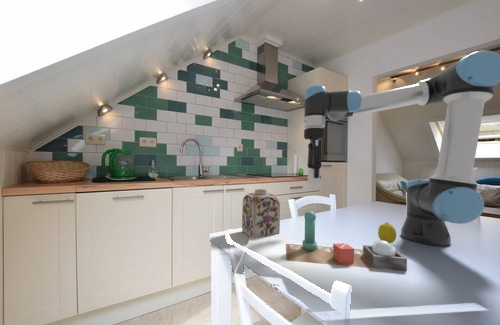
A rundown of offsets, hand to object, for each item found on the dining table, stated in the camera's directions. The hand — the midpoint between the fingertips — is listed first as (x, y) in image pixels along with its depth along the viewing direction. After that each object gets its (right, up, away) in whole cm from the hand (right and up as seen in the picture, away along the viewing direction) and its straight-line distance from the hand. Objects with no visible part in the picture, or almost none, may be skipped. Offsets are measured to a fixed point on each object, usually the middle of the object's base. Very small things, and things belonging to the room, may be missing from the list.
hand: (313, 185), depth 82 cm
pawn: (-5, -19, -12) cm, 23 cm away
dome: (+14, -18, -21) cm, 31 cm away
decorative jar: (-20, -20, +5) cm, 29 cm away
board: (+2, -20, -17) cm, 27 cm away
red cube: (+3, -19, -20) cm, 28 cm away
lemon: (+25, -21, -4) cm, 33 cm away
